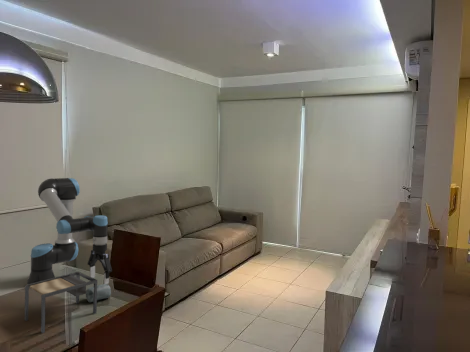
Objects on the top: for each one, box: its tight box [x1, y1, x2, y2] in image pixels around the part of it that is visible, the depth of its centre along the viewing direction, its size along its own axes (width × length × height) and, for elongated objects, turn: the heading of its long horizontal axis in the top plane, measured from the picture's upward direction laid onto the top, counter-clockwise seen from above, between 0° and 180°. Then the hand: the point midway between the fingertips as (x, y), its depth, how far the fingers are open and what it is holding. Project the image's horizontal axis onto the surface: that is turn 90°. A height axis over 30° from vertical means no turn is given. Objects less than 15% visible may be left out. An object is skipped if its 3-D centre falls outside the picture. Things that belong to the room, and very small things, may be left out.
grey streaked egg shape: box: [85, 283, 112, 303], centre depth 198 cm, size 14×10×10 cm
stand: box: [24, 271, 98, 334], centre depth 176 cm, size 27×18×18 cm, turn 143°
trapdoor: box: [29, 275, 87, 297], centre depth 174 cm, size 21×14×6 cm
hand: (99, 280), depth 197 cm, fingers open, 13 cm apart
